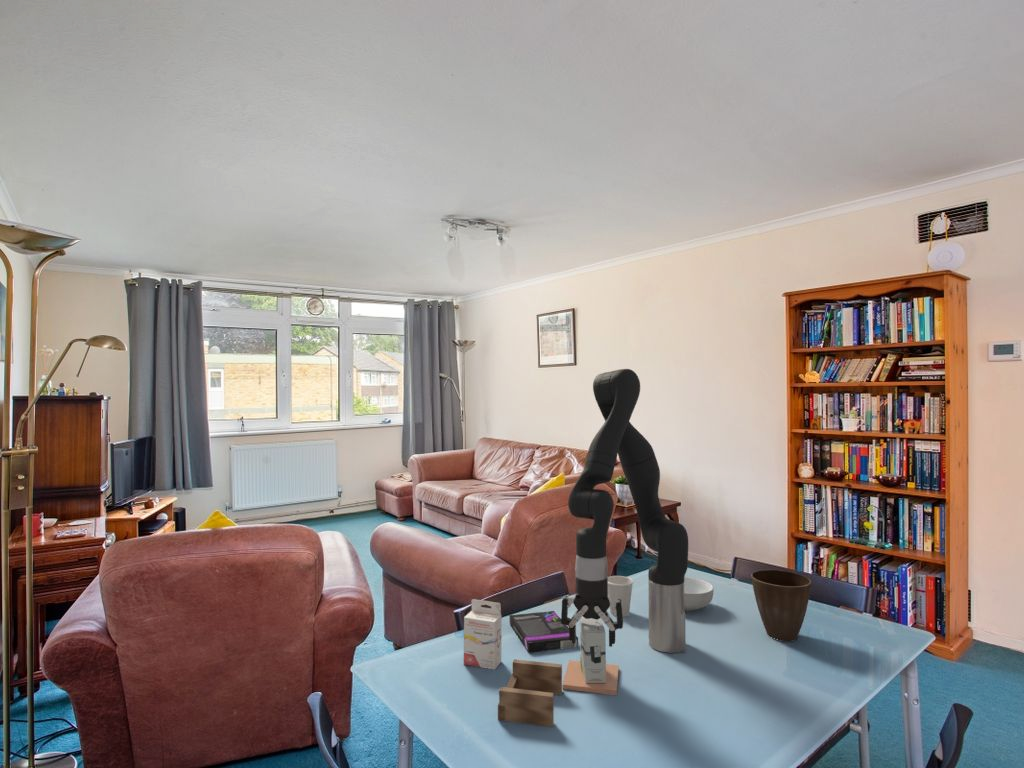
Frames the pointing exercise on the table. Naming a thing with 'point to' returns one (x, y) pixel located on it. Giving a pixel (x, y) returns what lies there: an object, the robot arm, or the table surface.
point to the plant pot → (781, 601)
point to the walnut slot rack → (530, 693)
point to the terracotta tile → (577, 682)
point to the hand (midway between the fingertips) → (592, 643)
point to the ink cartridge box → (483, 635)
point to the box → (541, 631)
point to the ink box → (593, 650)
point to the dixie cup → (620, 592)
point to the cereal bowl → (696, 593)
